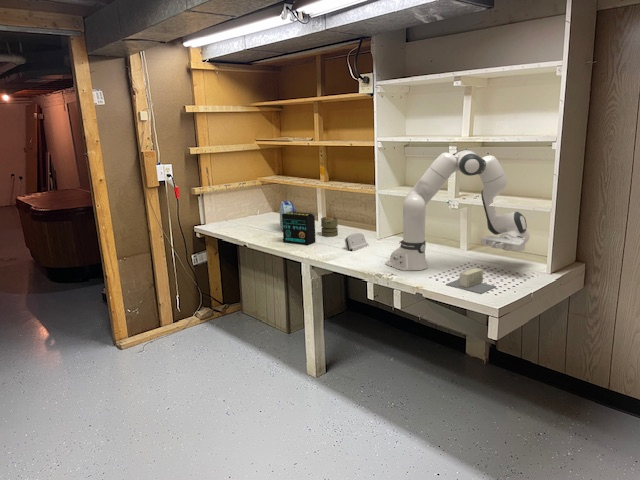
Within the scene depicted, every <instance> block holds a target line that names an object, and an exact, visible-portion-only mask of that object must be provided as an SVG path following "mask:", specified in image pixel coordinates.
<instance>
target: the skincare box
mask: <svg viewBox="0 0 640 480" xmlns="http://www.w3.org/2000/svg"><path fill="white" fill-rule="evenodd" d="M458 279H459V286H462V287H466V288H467V287H470V286H473V285H475V284H478V283H484V281H483V279H484V269H483V268H482V269H481V268H477V267H474V268H471V269H468V270H465V271H463V272H460V273H459V278H458Z"/></svg>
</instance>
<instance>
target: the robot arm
mask: <svg viewBox="0 0 640 480" xmlns="http://www.w3.org/2000/svg"><path fill="white" fill-rule="evenodd" d="M458 171H459V172H460V173H462V174H463V175H465V176H468V177H469V176H471V177H472V176H476V175H479V177H480V180H481V182H482V185H483V189H482V190H481V196H480V197H481V201H482V206H483V209H484V213H485V217H486V222H487V229H488V230H489V232H490V233H491V234H493V235H486V236H485V235H484V236H482V237H481V238H480V244H481V245H483V246H489V247H491V248H493V249H503V250H504V251H513V252H524V251H525V249H526V244H527V243H528V242H529V240H530V237H531V236H530V233H529V231H528V230H527V220H526V218H525V216H524V215H523V214H522V213H521V212H519V211H513V212H508V213H503V214H498V213H497V211H496V206H494V207H493V206H489V205H490V204H491V203H493V202H494V199H495V197H497V196H498V195H500V194H502V192H504V190H505V189H506V187H507V185H508V178H507V176H506V173H505V171H504V169H503V167H502V165H501V163H500V162H499V160H498V158H496V156H494V155H491V154H490V155H486V156H483V157H481V156H479V155H478V154H477V153H476V152H474V151H473V150H470V149H466V148H465V149H461V150H459V151H456V152H454V153H450V152H442V153H441V154H440V155H439V156H437V158H436V159H435V160H434V161H433V162H432V163H431V164H430V165H429V166H428V168H427V169H426V171H425V172H424V173H423V174H422V176H421V177H420V179H419V180H418V181H417V182H416V183H415V184H414V186H413V187H412V188H411V190H409V192H408V193H407V194H406V195H405V196H404V200H403V205H402V219H403V220H402V224H403V225H402V227H403V229H402V240H400V241H399V242H398V244H400V246H399V247H398V248H396V249H394V250H393V251H392V252H391V253H390V256H389V260H387V261H386V262H385V265H387V266H388V265H389V267H391V266H392V268H394V269H398V270H399V271H403V272H404V271H421V270H422V271H423V270H426V269H427V268H428V263H427V260H426V239H425V238H426V206H427V205H428V203H429V202H431V200H432V199H433V198H434V196H436V194H438V193H439V191H440V190H441V189H442V188H443V186H444V185H445V183H447V181H448V180H449V178H450V177H451V175H452V174H453V173H455V172H458ZM494 235H496V236H494ZM498 235H500V236H498Z"/></svg>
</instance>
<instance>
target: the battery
mask: <svg viewBox="0 0 640 480" xmlns="http://www.w3.org/2000/svg"><path fill="white" fill-rule="evenodd" d="M315 216H316V215H314V212H313V211H309V212H299V211H296V212H293V211H290V212H287V213H286V214H285V213H284V214H282V221H283V230H282V240H283V243H285V244H295V245H303V246H310V245H313V244H315V243H316V220H315V219H316V218H315Z"/></svg>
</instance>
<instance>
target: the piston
mask: <svg viewBox="0 0 640 480" xmlns="http://www.w3.org/2000/svg"><path fill="white" fill-rule="evenodd" d="M320 223H321V225H320V227H321V228H320V229H321V237H325V238H332V237H333V238H334V237H338V236H339V233H338V232H339V230H338V229H339V228H338V225H339V223H338V216H337V217H336V216H334V217H333V219H327V217H326V216H323V217H320Z"/></svg>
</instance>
